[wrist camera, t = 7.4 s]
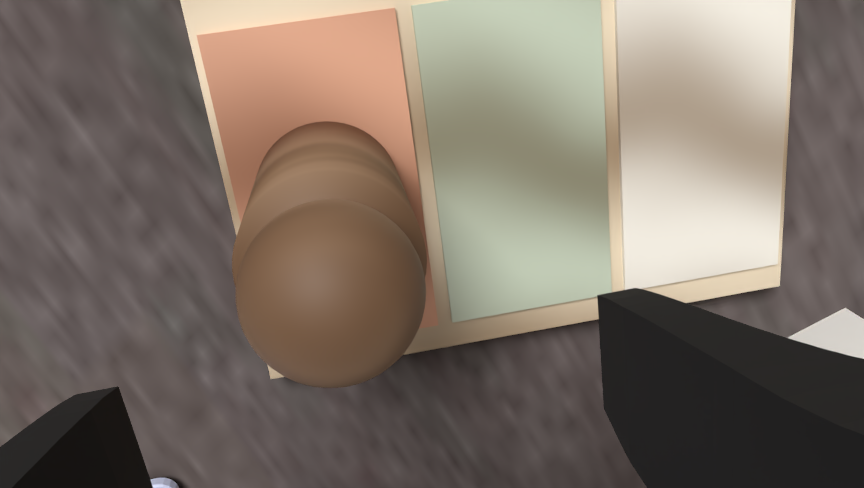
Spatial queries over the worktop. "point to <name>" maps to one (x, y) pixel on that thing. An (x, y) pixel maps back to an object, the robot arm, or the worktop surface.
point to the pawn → (329, 258)
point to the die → (836, 334)
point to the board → (530, 138)
